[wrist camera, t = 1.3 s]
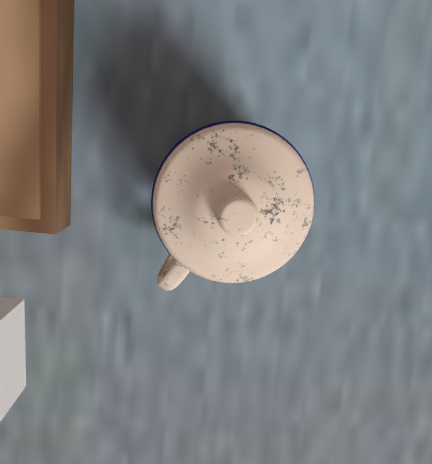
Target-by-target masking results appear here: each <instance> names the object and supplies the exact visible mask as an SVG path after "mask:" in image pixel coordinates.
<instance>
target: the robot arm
mask: <svg viewBox="0 0 432 464" xmlns="http://www.w3.org/2000/svg"><path fill="white" fill-rule="evenodd" d="M25 387H26V360H25V311H24V299H15V298H3V297H0V421H1V420H2V419H3V417H4V416H5V414H6V413H7V412H8V410H9V409H10V408H11V406H12V405H13V403H14V402H15V401H16V399H17V398H18V396H19V395H20V394H21V392H22V391H23V390H24V388H25Z"/></svg>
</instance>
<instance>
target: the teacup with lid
mask: <svg viewBox="0 0 432 464" xmlns="http://www.w3.org/2000/svg"><path fill="white" fill-rule="evenodd" d="M151 209H152V217H153V221H154V225H155V228H156V231H157V234H158V236H159V238H160V240H161V242H162V244H163V245H164V247H165V248H166V250H167V251H168V252H169V256H168V257H167V259H166V261H165V262H164V264H163V266H162V268H161V269H160V271H159V274H158V276H157V284H158V285H159V286H160V287H162V288H163V289H165V290H167V291H170V290H173V289H174V288H176V287H177V286H178V285H179V284H180V283H181V282H182V281H183V279H184V278H185V277H186V276H187V275H188V273H189V272H190V271H191V272H192V273H194V274H196V275H198V276H201V277H203V278H206V279H209V280H213V281H218V282H226V283H239V282H246V281H251V280H255V279H258V278H261V277H263V276H266V275H268V274H270V273H272V272H274V271H275V270H277V269H278V268H280V267H281V266H282V265H284V264H285V263H286V262H287V261H288V260H289V259H290V258H291V257H292V256H293V255H294V254H295V253H296V252H297V250H298V249H299V248H300V246H301V245H302V243H303V241H304V239H305V237H306V235H307V233H308V231H309V228H310V225H311V222H312V218H313V212H314V188H313V183H312V179H311V176H310V173H309V170H308V168H307V166H306V164H305V162H304V160H303V158H302V157H301V155H300V154H299V153H298V151H297V150H296V149H295V148H294V147H293V146H292V144H290V143H289V142H288V141H287V140H286V139H285V138H284V137H282V136H281V135H279V134H278V133H276V132H274V131H273V130H271V129H269V128H267V127H264V126H261V125H258V124H255V123H251V122H245V121H223V122H218V123H213V124H210V125H207V126H204V127H202V128H199V129H197V130H195V131H194V132H192V133H190V134H189V135H187V136H186V137H184V138H183V139H182V140H181V141H179V142H178V143H177V144H176V145H175V146H174V147H173V148H172V149H171V151H170V152H169V153H168V154H167V156H166V157H165V159H164V160H163V162H162V164H161V166H160V168H159V170H158V172H157V175H156V177H155V181H154V184H153V189H152V198H151Z"/></svg>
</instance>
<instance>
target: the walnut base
mask: <svg viewBox="0 0 432 464" xmlns="http://www.w3.org/2000/svg"><path fill="white" fill-rule="evenodd" d="M73 32H74V0H0V229H7V230H17V231H27V232H38V233H48V234H57V233H58V232H60V231H61V230H63V229H64V228H66V227H67V226H69V225H70V205H71V147H72V89H73Z"/></svg>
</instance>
